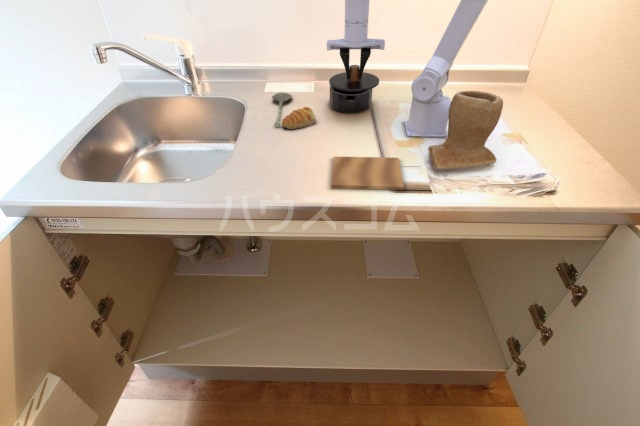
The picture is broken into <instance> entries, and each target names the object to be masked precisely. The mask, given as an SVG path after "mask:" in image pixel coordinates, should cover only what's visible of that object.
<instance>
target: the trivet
mask: <svg viewBox="0 0 640 426" xmlns="http://www.w3.org/2000/svg"><path fill="white" fill-rule="evenodd" d="M332 161H333V163H332V172H331V182H330V188H331V189H337V190H339V189H342V190H344V189H345V190H375V191H376V190H377V191H378V190H382V191H404V189H405V185H404V180H403V175H402V174H403V173H402V169H401V163H400V157H384V156H383V157H377V156H333V160H332Z"/></svg>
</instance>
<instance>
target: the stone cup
mask: <svg viewBox="0 0 640 426" xmlns="http://www.w3.org/2000/svg"><path fill="white" fill-rule="evenodd" d="M503 108H504V100H503V98H502V97H501V96H499V95H497V94H495V93H491V92H487V91H480V90H461V91H458V92H455V94H454V95H453V97H452V99H451V103H450V107H449V114H448V117H449V119H448V123H447V137H446V139H445V141H444V142H443V143H440V144H433V145H429V146H428V152H429V153H428V154H429V155H428V157H429V161H430V163H431V166H432V168H433V169H434V170H452V169H465V168H466V169H467V168H475V167H483V166H489V165H493V164H495V163H496V162H497V157H496V156H495V154H494V153H493V151H492V150H491V149H489V148H487V147H486V146H485V145H486V142H487V141H488V139H489V137H490V136H491V134H492V133H493V131H495V129H496V127H497V125H498V123H499V121H500V119H501V115H502V112H503Z"/></svg>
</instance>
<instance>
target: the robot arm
mask: <svg viewBox="0 0 640 426" xmlns="http://www.w3.org/2000/svg"><path fill="white" fill-rule="evenodd" d="M488 1H489V0H460V1H459V3H458V5H457V7H456V9H455V11H454V13H453V15H452V17H451V19H450V21H449V22H448V25H447V27H446V28H445V31H444V33H443V35H442V37H441V39H440V41H439V42H438V44H437V46H436V49H435V50H434V52H433V54H432V55H431V57H430V59H429V61H428V62H427V63H426V65H425V66H424V69H423V70H422V72H421V73H419V75H417V76H416V77H415V78H414V79H413V82H412V84H411V94H412V97H411V103H410V109H409V115H408V120H405V121H404V127H405V131H406V136H407V137H423V138H425V137H427V138H431V137H432V138H442V137H443V138H445V137H446V131H447V128H448V122H449V117H448V114H449V107H450V103H451V101H452V99H451V97H449V96H444V92H443V90H442V89H443V88H444V87H445V86H446V85H447V83H448V81H449V77H450V71H451V69H452V66H453V65H454V61H455V59H456V58H457V56H458V54H459V52H460V51H461V49H462V47H463V45H464V44H465V41H466V40H467V38H468V36H469V35H470V33H471V31H472V30H473V28H474V26H475V24H476V22H477V20H478V19H479V17H480V16H481V14H482V12H483V10H484V9H485V7H486V5H487V3H488ZM369 12H370V0H344V33H343V35H344V38H338V39H328V40H326V51H333V50H336V51H337V50H338V51H339V57H340V59H341V61H342V63H343V66H344V70H345V72H346V75H347V80H349V78H350V54H351V53H350V52H351V51H350V50H360V61H359V66H360V67H359V80H361V79H362V74H363V72H364V70H365V67H366V65H367V62H368V61H369V59H370V57H371V54H372V50H380V51H384V50H385V47H386V41H385V39H384V38H383V39H381V38H380V39H379V38H368V33H369V31H368V30H369V15H370V13H369Z"/></svg>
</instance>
